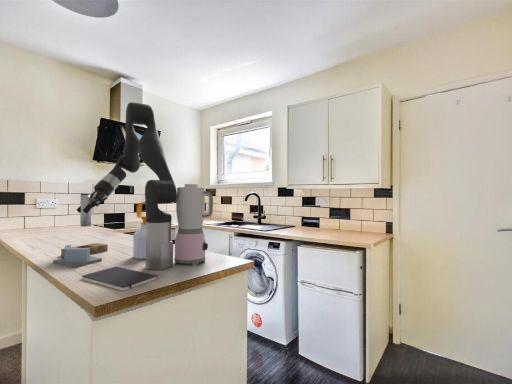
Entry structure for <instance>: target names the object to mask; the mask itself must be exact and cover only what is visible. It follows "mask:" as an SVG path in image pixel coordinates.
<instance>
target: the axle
mask: <svg viewBox="0 0 512 384" xmlns="http://www.w3.org/2000/svg"><path fill="white" fill-rule="evenodd" d="M90 202H91V195H90V194H89V195H86V194H80V206H81V213H80V227H83V228H85V227H92V209H91V210H90V211H89V212H88V213H85V212H83V209H84V208H85V207H86V206H87V205H88V204H89V203H90Z"/></svg>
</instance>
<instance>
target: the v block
mask: <svg viewBox="0 0 512 384" xmlns="http://www.w3.org/2000/svg"><path fill="white" fill-rule="evenodd" d="M71 247H72V244H68V245H66V244H65V246H64V248H63V249H64V256H63V258H58V259H53V260H52V263H53V264H56V265H62V266H65V267H69V268H78V267H83V266H86V265H90V264H91V265H92V264H95V263H99V262H102V261H103V258H101V257H96V256H92V255H91V254H90V248H71Z"/></svg>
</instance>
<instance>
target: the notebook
mask: <svg viewBox="0 0 512 384" xmlns="http://www.w3.org/2000/svg"><path fill="white" fill-rule="evenodd" d="M158 277H159V276H158V275H156V274H153V273H148V272H143V271H139V270H134V269H129V268H125V267H120V266H113V267H110V268H107V269H106V268H105V269H103V270H98V271H94V272H91V273H86V274H83V275H81V278H82V279H81V280H83V281H87V282H90V283H94V284H97V285H101V286H104V285H105V286H104V287H108V288H112V289H116V290H120V291H126V290H130V289H132V288H135V287H137V286H140V285H142V284H145V283H149V282H152V281H154V280H157V279H158Z"/></svg>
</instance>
